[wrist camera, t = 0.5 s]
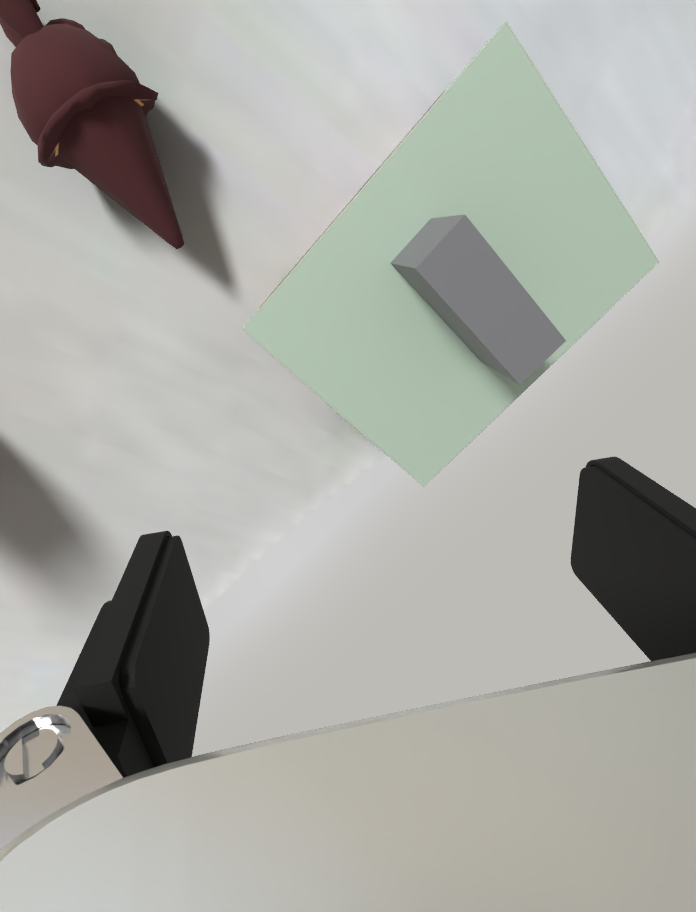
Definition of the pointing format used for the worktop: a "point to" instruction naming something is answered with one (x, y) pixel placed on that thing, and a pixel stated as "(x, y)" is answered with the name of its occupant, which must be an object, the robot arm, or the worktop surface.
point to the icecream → (87, 112)
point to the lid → (457, 268)
